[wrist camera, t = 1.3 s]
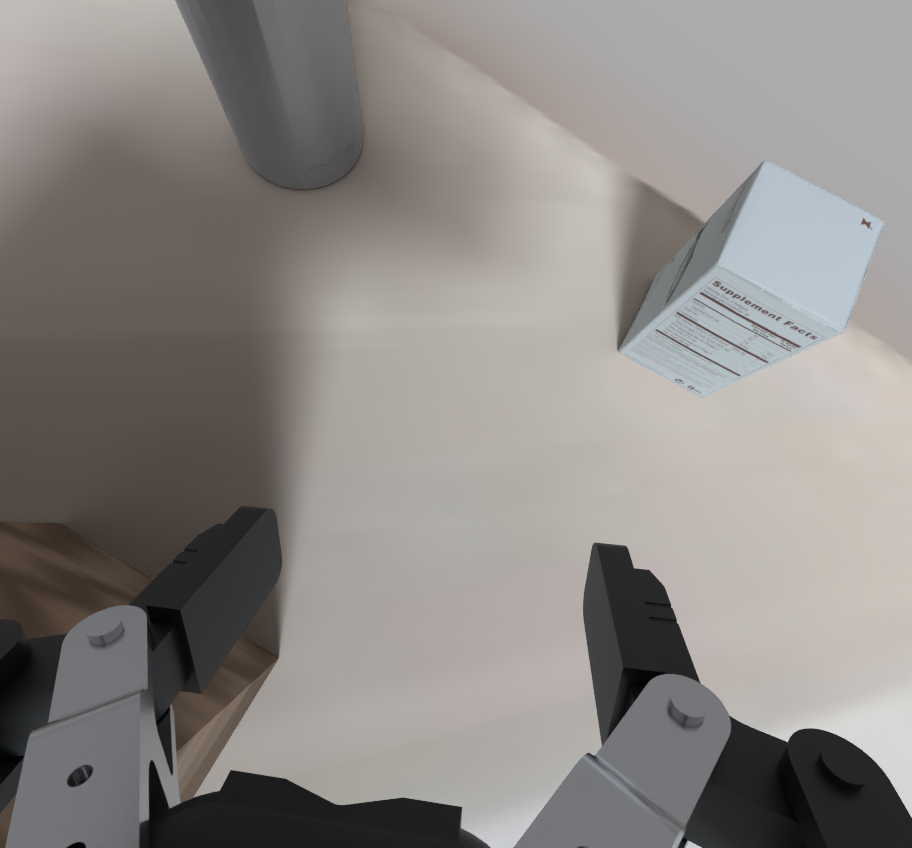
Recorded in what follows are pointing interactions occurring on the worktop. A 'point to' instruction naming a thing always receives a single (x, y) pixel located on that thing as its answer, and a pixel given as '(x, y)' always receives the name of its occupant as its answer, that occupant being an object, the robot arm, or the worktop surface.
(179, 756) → the walnut stand
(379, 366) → the worktop surface
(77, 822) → the robot arm
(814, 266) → the supplement box
